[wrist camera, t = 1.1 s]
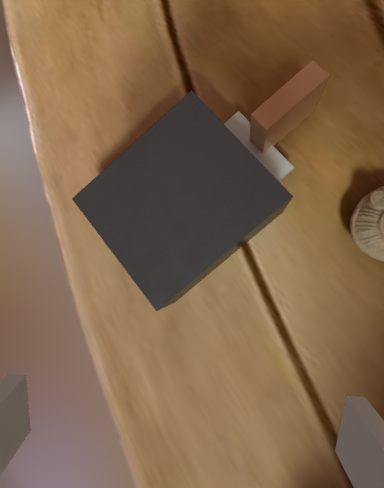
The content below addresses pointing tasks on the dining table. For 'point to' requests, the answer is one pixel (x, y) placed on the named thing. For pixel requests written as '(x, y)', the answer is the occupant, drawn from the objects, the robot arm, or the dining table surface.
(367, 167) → the dining table surface
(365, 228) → the pottery oil lamp
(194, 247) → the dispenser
